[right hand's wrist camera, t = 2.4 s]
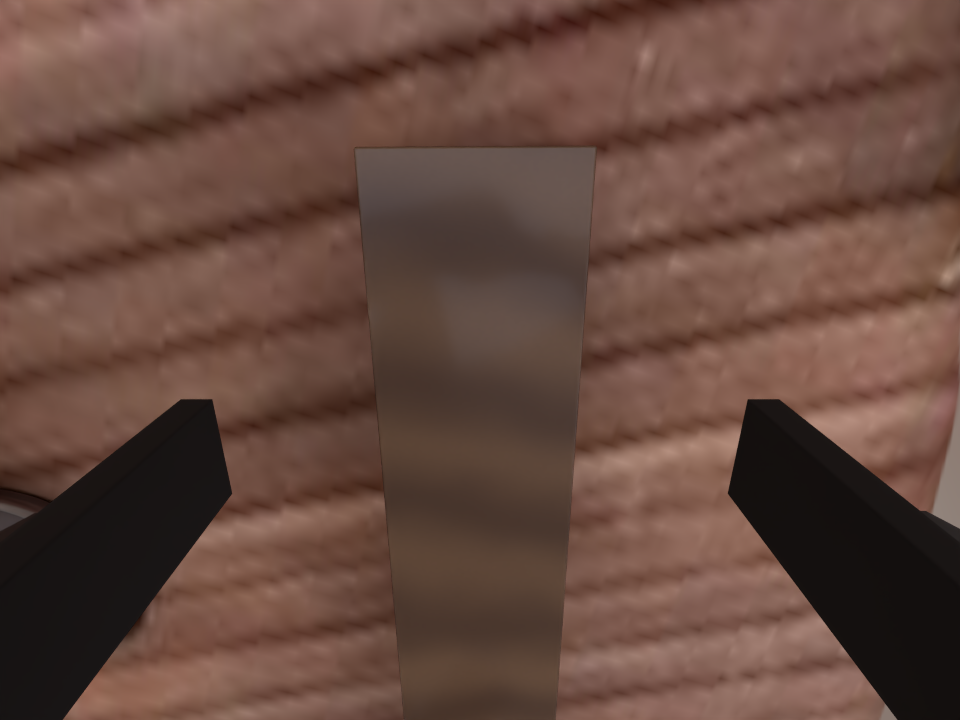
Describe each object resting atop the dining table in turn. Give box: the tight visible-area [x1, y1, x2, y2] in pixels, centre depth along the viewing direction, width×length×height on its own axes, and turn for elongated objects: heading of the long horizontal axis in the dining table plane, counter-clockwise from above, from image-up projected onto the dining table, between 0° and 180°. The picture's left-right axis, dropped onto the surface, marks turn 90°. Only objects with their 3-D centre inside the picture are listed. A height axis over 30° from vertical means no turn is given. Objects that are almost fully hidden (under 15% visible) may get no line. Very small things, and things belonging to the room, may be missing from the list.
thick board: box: [354, 146, 597, 720], centre depth 35 cm, size 71×9×8 cm, turn 0°
